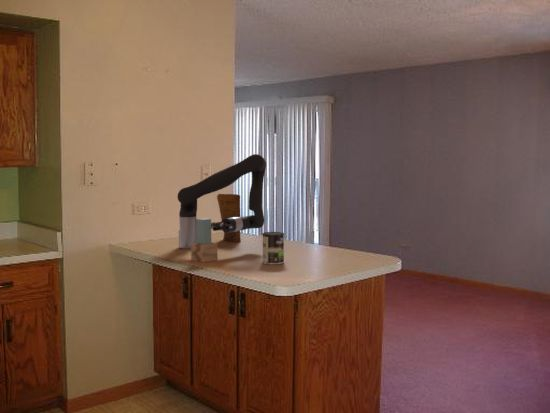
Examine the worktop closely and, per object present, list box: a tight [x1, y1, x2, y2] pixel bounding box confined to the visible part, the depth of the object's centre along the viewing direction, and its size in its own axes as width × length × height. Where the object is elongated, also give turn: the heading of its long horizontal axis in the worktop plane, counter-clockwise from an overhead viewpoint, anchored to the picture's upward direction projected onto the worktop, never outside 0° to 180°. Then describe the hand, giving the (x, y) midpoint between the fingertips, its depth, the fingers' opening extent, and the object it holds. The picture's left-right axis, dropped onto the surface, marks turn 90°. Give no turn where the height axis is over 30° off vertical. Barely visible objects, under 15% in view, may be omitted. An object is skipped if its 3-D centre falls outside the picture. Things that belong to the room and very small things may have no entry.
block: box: [190, 242, 218, 263], centre depth 277 cm, size 9×9×8 cm
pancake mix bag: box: [216, 193, 242, 243], centre depth 335 cm, size 7×19×28 cm, turn 43°
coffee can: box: [261, 231, 285, 265], centre depth 269 cm, size 10×10×14 cm
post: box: [196, 217, 212, 245], centre depth 276 cm, size 5×5×12 cm
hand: (207, 227), depth 278 cm, fingers open, 8 cm apart
